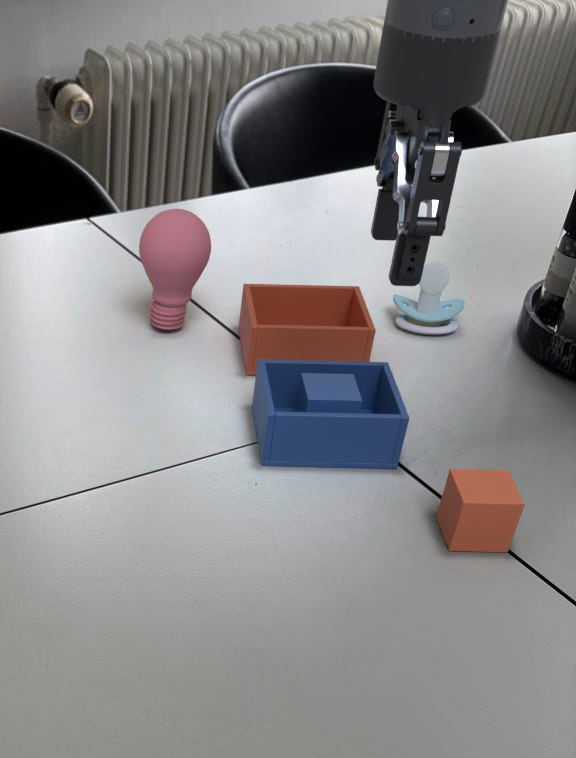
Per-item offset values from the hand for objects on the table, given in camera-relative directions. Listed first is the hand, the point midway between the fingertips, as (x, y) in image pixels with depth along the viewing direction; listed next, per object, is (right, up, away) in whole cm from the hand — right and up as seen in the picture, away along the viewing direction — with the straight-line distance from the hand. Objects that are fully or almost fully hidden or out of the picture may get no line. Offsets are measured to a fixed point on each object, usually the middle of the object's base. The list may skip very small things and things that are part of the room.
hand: (393, 260), depth 79 cm
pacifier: (+12, +4, +31) cm, 33 cm away
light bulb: (-15, +4, +30) cm, 33 cm away
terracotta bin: (-2, 0, +26) cm, 26 cm away
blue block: (-2, -10, +14) cm, 17 cm away
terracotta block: (+7, -21, +4) cm, 22 cm away
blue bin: (-2, -11, +14) cm, 18 cm away
